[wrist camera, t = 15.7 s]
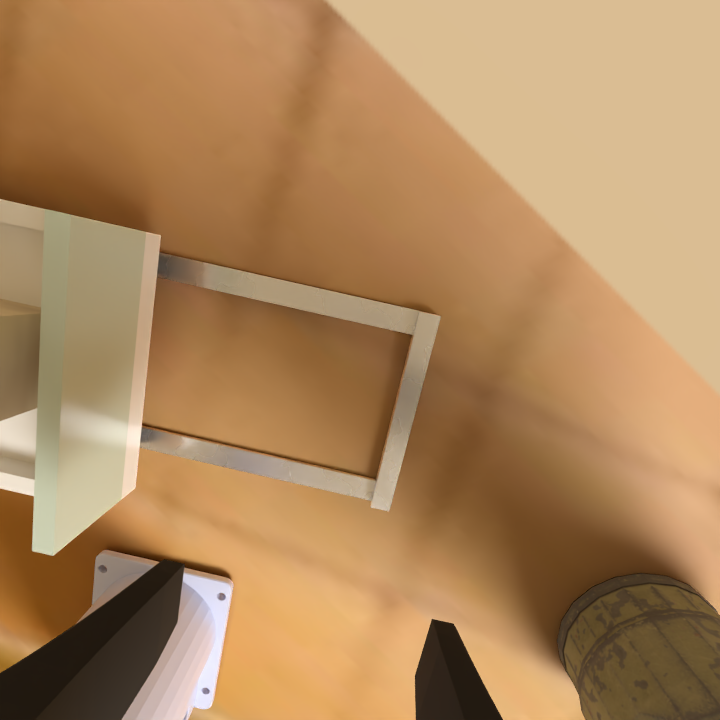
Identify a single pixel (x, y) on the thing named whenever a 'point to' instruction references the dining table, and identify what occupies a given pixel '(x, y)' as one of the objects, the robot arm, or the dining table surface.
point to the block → (18, 357)
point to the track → (330, 305)
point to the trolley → (78, 364)
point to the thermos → (643, 650)
